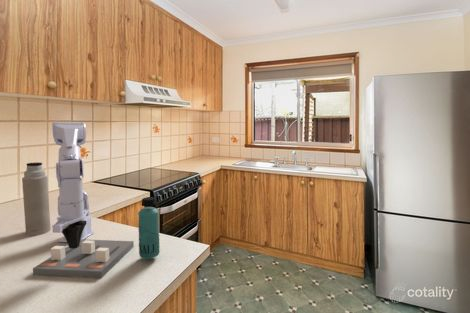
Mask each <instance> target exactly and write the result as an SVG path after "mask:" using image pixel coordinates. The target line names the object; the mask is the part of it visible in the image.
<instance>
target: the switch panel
mask: <svg viewBox="0 0 470 313" xmlns="http://www.w3.org/2000/svg"><path fill="white" fill-rule="evenodd" d="M85 240H87V239H86V238H85V239H81V240H80V244H79V247H77V248H69V246H68V245H67V246H64V245H55V246H52V248H50V257H49V258H47V259H46V260H44V261H42V262H40V263H39V264H37V265H36V266H34V267H33V268H32V274H33V275H32V276H46V277H47V276H48V277H65V278H66V277H69V278H88V279H89V278H90V279H103V277H104V276H106V274H107V273H108V272H109V271H111V269H113V268H114V267H115V266H116V264H117V263H119V262H120V261H121V260H122V259H123V258H124V257H125V256H126V255H127V254H128V253H129V252H130V251H131V250H132V249H133V248H134V246H135V245H134V242H135V241H134V240H112V239H111V240H109V239H107V240H106V239H89V240H90V241H95V252H93V253H92V254H82V242H84V241H85Z"/></svg>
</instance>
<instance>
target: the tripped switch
mask: <svg viewBox="0 0 470 313" xmlns="http://www.w3.org/2000/svg"><path fill="white" fill-rule="evenodd" d="M90 240H91V239H86V240H85V241H84V242H82V254H92V253H93V252H95V241H90Z"/></svg>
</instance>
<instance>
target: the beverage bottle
mask: <svg viewBox="0 0 470 313" xmlns="http://www.w3.org/2000/svg"><path fill="white" fill-rule="evenodd" d="M155 205H156V199H155V197H153V196H147V197H143V198H142V199H141V206H142V207H143V208H141V209H140V210H139V211H138V213H137V215H138V220H137V222H138V224H137V226H138V237H137V238H138V254H139V257H140V258H141V259H144V260H145V259H146V260H148V259H154V258H157V256H160V255H159V254H160V219H159V217H160V211H159V210H158V209H157V208H156V207H153V206H155Z"/></svg>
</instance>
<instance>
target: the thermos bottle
mask: <svg viewBox="0 0 470 313" xmlns="http://www.w3.org/2000/svg"><path fill="white" fill-rule="evenodd" d="M46 174H47V172H46V171H45V170H44V169H43V163H42V162H37V161H36V162H28V163H26V170H25V171H24V172H23V177H22V178H21V179H22V180H21V181H22V197H23V198H22V199H23V209H24V210H23V211H24V222H25V223H24V225H25V234H26V236H39V235H44V234H46V233H49V232H50V231H51V230H52V229H51V228H52V226H51V212H50V198H49V197H50V196H49V182H48V181H49V180H48V175H46Z"/></svg>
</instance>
